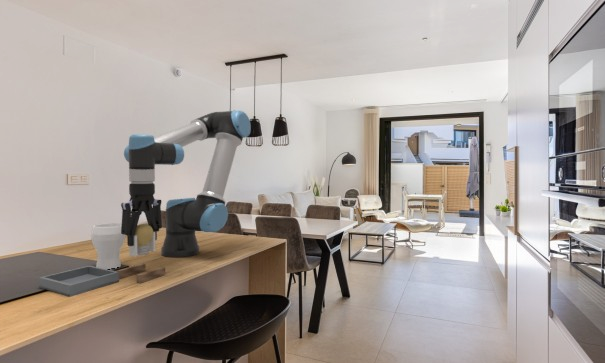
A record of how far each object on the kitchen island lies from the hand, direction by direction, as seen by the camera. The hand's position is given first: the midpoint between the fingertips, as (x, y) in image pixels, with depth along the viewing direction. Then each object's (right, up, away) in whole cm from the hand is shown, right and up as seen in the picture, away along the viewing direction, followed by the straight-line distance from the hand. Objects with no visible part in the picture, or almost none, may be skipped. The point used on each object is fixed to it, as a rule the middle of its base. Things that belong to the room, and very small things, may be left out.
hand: (142, 253), depth 112 cm
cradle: (0, -8, 0) cm, 8 cm away
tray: (-15, -8, -9) cm, 19 cm away
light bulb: (0, -1, 0) cm, 1 cm away
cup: (-17, -7, +10) cm, 21 cm away
